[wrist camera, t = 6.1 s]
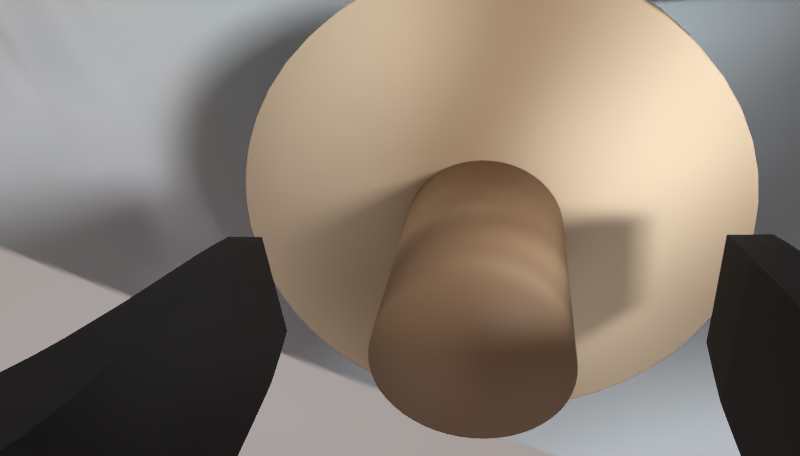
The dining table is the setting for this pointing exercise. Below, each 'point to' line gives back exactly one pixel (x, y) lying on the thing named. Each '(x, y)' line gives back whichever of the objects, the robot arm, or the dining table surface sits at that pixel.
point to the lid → (499, 198)
